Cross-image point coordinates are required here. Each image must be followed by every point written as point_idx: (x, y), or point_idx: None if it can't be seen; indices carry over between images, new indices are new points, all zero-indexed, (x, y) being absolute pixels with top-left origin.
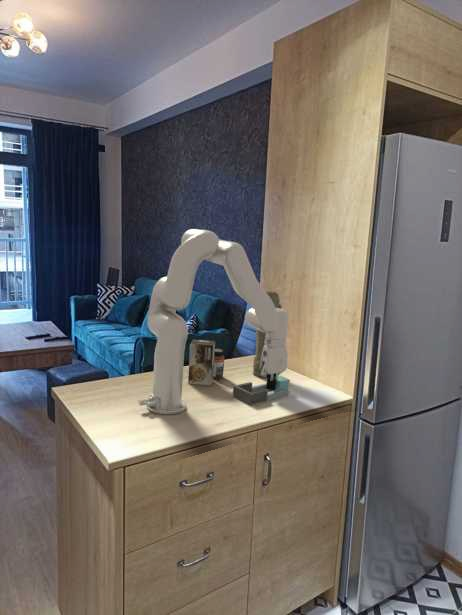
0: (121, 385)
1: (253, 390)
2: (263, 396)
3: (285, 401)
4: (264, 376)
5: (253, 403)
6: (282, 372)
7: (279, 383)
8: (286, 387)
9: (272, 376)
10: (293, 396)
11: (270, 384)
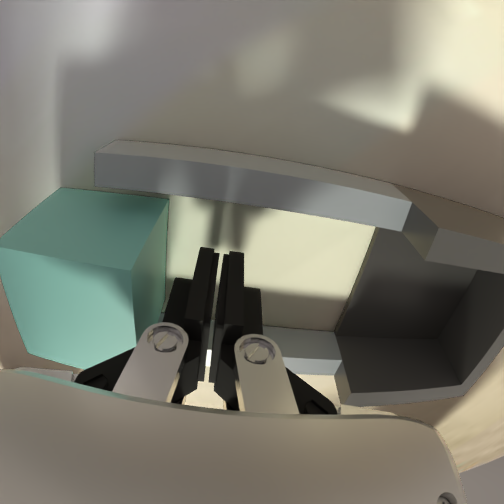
0: (474, 457)
1: (320, 343)
2: (451, 212)
3: (267, 58)
4: (373, 411)
5: (495, 217)
6: (25, 368)
7: (140, 267)
8: (65, 210)
9: (257, 384)
10: (93, 94)
11: (251, 310)
